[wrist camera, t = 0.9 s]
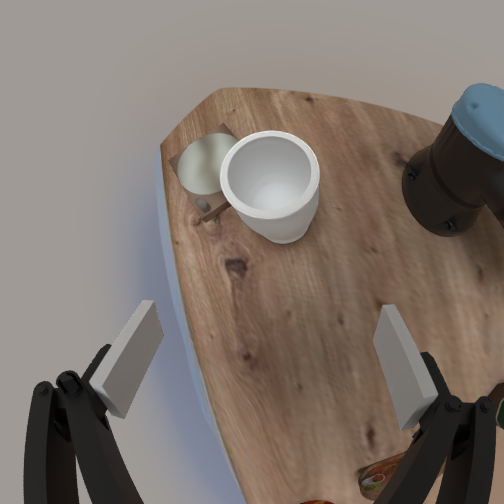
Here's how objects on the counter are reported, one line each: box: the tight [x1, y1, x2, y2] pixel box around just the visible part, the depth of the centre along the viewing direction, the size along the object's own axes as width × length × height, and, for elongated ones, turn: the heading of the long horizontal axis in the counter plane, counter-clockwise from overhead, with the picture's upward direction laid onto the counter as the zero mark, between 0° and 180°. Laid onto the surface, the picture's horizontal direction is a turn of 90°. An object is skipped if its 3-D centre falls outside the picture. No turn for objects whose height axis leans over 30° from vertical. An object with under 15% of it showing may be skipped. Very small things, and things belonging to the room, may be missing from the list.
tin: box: [358, 451, 447, 501], centre depth 25 cm, size 15×3×8 cm, turn 104°
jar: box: [220, 131, 320, 244], centre depth 34 cm, size 11×10×15 cm
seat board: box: [168, 123, 239, 222], centre depth 43 cm, size 12×14×5 cm
